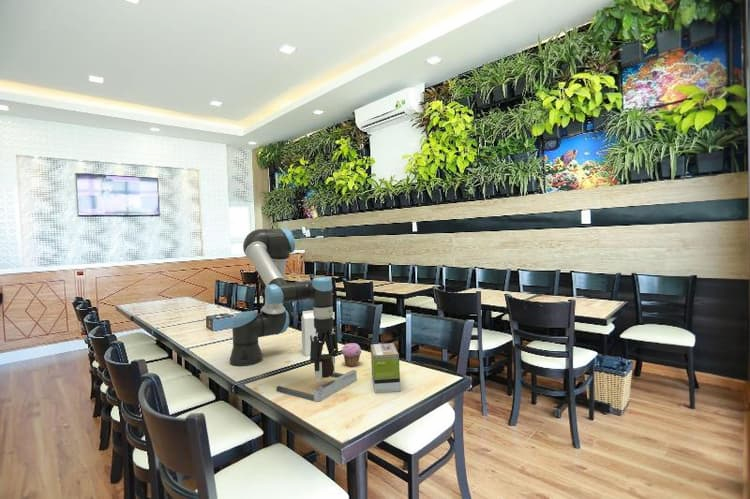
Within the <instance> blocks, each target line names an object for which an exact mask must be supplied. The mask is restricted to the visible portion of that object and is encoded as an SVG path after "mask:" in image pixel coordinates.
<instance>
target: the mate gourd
mask: <svg viewBox="0 0 750 499" xmlns="http://www.w3.org/2000/svg"><path fill="white" fill-rule="evenodd" d="M334 351H335V349H334V350H333V352H334ZM333 352H332V353H333ZM332 353H331V354H332ZM331 354H330V355H329V353H322V354H321V359H320V362H322V379H326V378H330V377H331V375H332V374H333V371H334V366H335V364H334V365H333V363H332V360H331V359H332V356H331Z"/></svg>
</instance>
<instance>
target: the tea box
mask: <svg viewBox="0 0 750 499" xmlns="http://www.w3.org/2000/svg"><path fill="white" fill-rule="evenodd" d="M370 357H371V358H370V360H371V361H370V362H371V364H370V365H371V378H372V379H371V380H372V385H373V389H374V393H375V394H379V393H382V394H383V393H384V394H385V393H394V392H398V393H399V392H401V375H400V374H401V371H400V354H399V352H398V349H397V347H396V346H395V343H394V342H391V343H390V342H389V343H378V344H377V343H375V344H374V343H373V344H370Z"/></svg>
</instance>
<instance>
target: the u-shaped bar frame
mask: <svg viewBox="0 0 750 499" xmlns="http://www.w3.org/2000/svg"><path fill="white" fill-rule="evenodd" d="M330 377H332V378H334V379H332V380H330V381H329V382H326V383H324V384H322V385H321V386H319V387H317V388H314V390H313V394H312V393H310V392H304V391H302V390H301V391H300V390H296V389H293V388H288V387H285V386H281V385H279V386H276V387H275V388H276V389H275V390H276V392H279V393H283V394H286V395H290V396H294V397H298V398H302V399H305V400H309V401H312V402H313V401H314V402H316V403H319V402H321V401H323V400H324V399H326V398H328V397H330V396H332V395H333V394H335V393H337V392H338V391H341V390H342V389H343V388H345V387H347V386H349V385H351V384H353V383H354V382H356V381H357V380H358V378H357V370H354V369H351V370H349V371H347V372H345V373H340V372H335V373H333V374H332V375H331V376H330Z"/></svg>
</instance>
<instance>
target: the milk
mask: <svg viewBox="0 0 750 499" xmlns="http://www.w3.org/2000/svg"><path fill="white" fill-rule="evenodd" d="M300 317H301V318H300V319H301V349H302V350H301V352H302V355H304V357H310V351H311V340H310V336H311V335H312V336H313V335H315V332H316V329H315V328H314V318H315V317H314V316H313V309H312V310H305V311H304V310H303V311H302V315H301V316H300Z"/></svg>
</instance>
